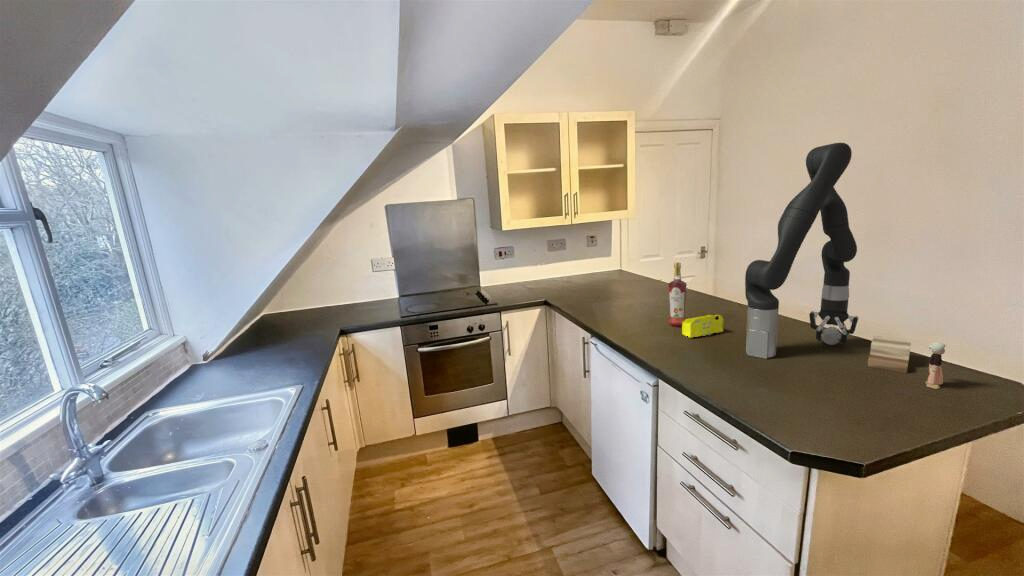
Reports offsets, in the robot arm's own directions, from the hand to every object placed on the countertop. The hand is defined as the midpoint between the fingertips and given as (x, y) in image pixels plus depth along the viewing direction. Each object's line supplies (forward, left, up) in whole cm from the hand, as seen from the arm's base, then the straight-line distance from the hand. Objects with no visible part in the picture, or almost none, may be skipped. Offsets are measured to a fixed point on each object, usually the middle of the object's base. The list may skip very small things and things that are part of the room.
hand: (831, 341), depth 148 cm
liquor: (-5, +54, -1) cm, 54 cm away
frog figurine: (0, 0, -1) cm, 1 cm away
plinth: (-9, -16, -1) cm, 18 cm away
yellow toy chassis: (-12, +41, -2) cm, 42 cm away
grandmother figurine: (-21, -26, -1) cm, 33 cm away
